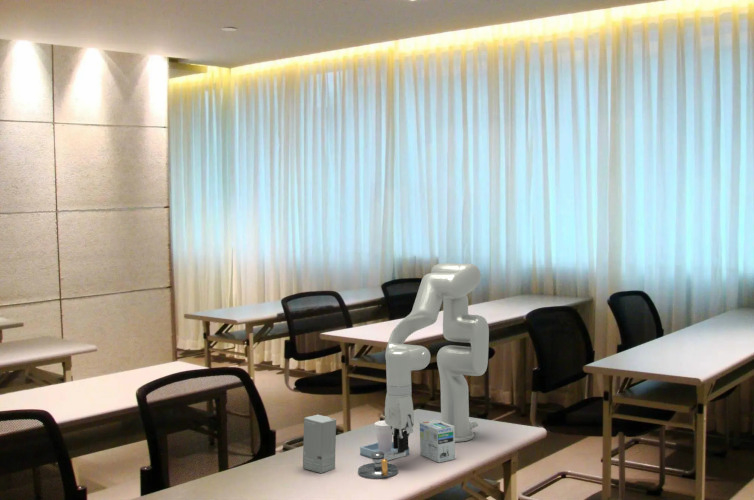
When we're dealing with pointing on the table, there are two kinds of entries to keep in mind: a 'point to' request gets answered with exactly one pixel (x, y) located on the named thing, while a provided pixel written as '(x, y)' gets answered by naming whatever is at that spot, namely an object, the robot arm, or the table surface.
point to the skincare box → (319, 443)
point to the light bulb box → (437, 440)
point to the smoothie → (384, 436)
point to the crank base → (378, 470)
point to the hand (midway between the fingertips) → (400, 448)
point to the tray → (376, 450)
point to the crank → (380, 455)
